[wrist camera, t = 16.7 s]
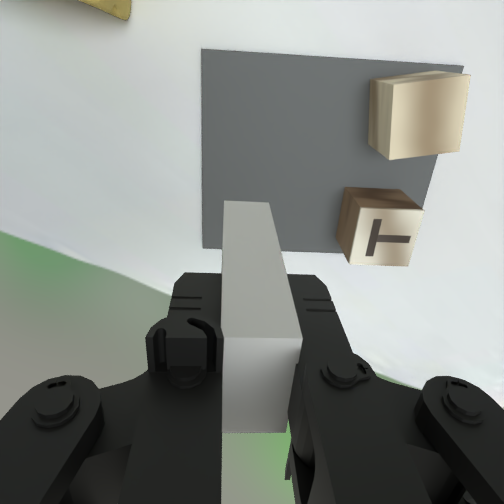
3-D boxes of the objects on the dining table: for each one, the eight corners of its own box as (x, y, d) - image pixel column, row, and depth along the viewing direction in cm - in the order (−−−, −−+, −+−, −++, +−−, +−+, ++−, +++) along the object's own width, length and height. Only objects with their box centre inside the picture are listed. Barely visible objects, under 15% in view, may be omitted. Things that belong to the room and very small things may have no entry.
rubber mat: (203, 246, 43) (202, 248, 43) (202, 48, 34) (201, 48, 33) (406, 253, 44) (408, 255, 44) (461, 65, 35) (464, 65, 35)
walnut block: (408, 266, 38) (387, 239, 43) (424, 210, 35) (400, 189, 40) (349, 264, 37) (335, 237, 43) (361, 208, 34) (344, 186, 40)
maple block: (368, 144, 38) (389, 160, 32) (370, 79, 35) (393, 84, 30) (428, 136, 38) (459, 151, 32) (435, 70, 35) (470, 74, 29)
